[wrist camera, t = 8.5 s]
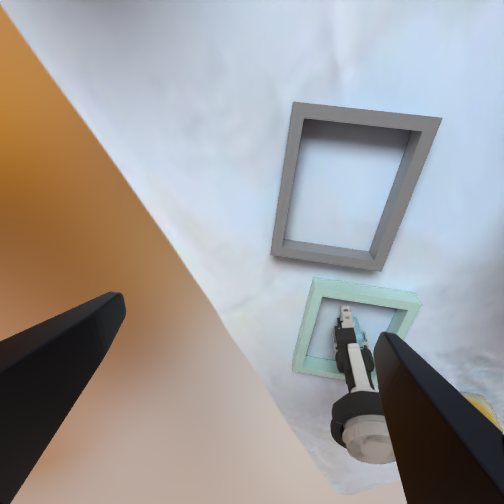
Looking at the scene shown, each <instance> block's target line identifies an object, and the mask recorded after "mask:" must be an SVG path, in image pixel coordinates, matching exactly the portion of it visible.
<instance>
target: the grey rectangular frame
mask: <svg viewBox="0 0 504 504" xmlns="http://www.w3.org/2000/svg"><path fill="white" fill-rule="evenodd" d="M304 118H307V119H316V120H325V121H334V122H342V123H351V124H360V125H369V126H378V127H387V128H396V129H405V130H412V133H411V136H410V138H409V141H408V144H407V147H406V150H405V152H404V155H403V158H402V161H401V164H400V166H399V169H398V172H397V175H396V178H395V181H394V183H393V186H392V189H391V192H390V195H389V197H388V200H387V203H386V206H385V209H384V211H383V214H382V217H381V220H380V223H379V226H378V228H377V231H376V234H375V237H374V240H373V242H372V245H371V248H370V251H369V252H368V251H361V250H354V249H347V248H340V247H333V246H326V245H319V244H312V243H305V242H299V241H292V240H285V239H283V238H284V232H285V226H286V220H287V215H288V209H289V203H290V197H291V191H292V185H293V179H294V173H295V168H296V162H297V156H298V150H299V144H300V138H301V132H302V127H303V121H304ZM441 121H442V118H439V117H429V116H420V115H411V114H402V113H392V112H383V111H374V110H365V109H355V108H346V107H337V106H328V105H318V104H309V103H300V102H293V106H292V112H291V119H290V126H289V132H288V139H287V146H286V153H285V159H284V166H283V173H282V180H281V186H280V193H279V200H278V206H277V213H276V220H275V227H274V233H273V240H272V247H271V254H270V255H274V256H281V257H287V258H294V259H301V260H307V261H314V262H321V263H327V264H334V265H341V266H347V267H354V268H361V269H367V270H374V271H382V269H383V266H384V264H385V261H386V259H387V256H388V254H389V251H390V249H391V246H392V244H393V241H394V239H395V236H396V234H397V231H398V229H399V226H400V224H401V221H402V219H403V216H404V214H405V211H406V209H407V206H408V204H409V201H410V198H411V196H412V193H413V191H414V188H415V186H416V183H417V181H418V178H419V176H420V173H421V171H422V168H423V166H424V163H425V161H426V158H427V156H428V153H429V151H430V148H431V146H432V143H433V141H434V138H435V136H436V133H437V131H438V128H439V126H440V123H441Z"/></svg>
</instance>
